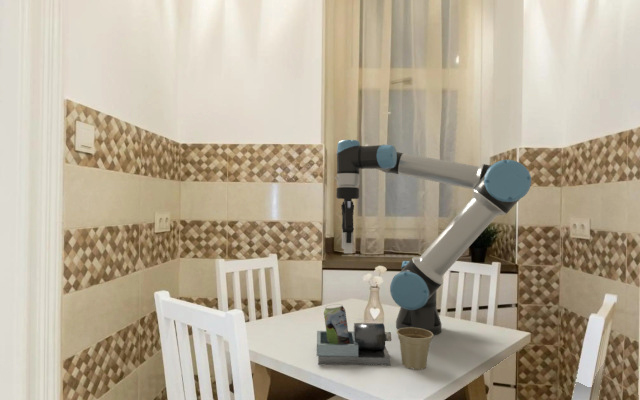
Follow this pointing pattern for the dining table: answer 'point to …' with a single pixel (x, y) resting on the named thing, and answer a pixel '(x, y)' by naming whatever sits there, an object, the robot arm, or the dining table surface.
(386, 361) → the motor housing
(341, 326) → the beverage can
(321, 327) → the dining table surface
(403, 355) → the flower pot
